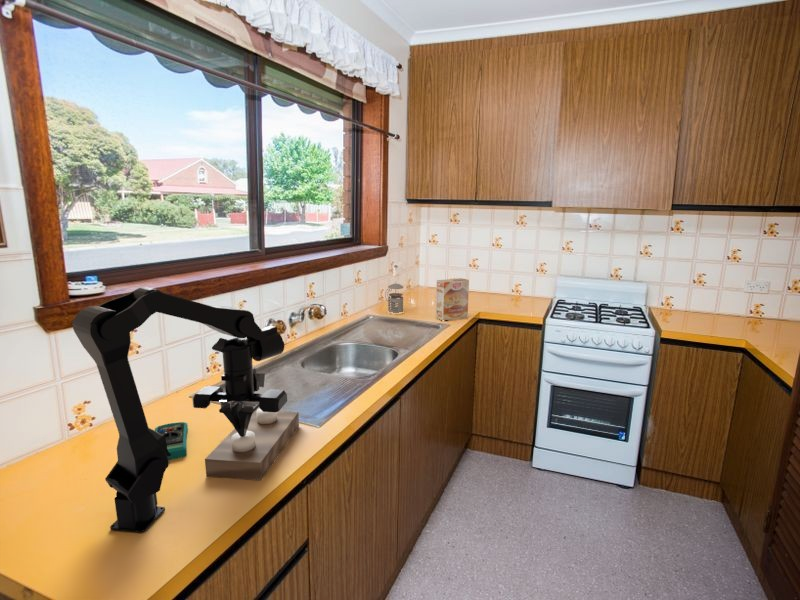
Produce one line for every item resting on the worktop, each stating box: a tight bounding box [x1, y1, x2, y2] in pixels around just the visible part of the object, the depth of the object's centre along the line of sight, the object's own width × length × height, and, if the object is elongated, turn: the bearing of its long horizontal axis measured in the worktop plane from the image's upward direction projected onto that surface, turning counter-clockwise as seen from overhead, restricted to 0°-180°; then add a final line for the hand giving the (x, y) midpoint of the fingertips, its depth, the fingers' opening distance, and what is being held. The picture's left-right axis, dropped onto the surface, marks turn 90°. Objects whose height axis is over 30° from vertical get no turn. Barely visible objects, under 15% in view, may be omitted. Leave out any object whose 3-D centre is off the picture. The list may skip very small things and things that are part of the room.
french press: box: [384, 264, 404, 313], centre depth 244 cm, size 10×12×25 cm
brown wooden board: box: [204, 410, 300, 481], centre depth 109 cm, size 24×12×4 cm, turn 173°
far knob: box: [256, 407, 277, 424], centre depth 115 cm, size 5×5×7 cm
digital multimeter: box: [154, 421, 189, 461], centre depth 111 cm, size 7×15×3 cm, turn 23°
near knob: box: [232, 431, 255, 452], centre depth 102 cm, size 5×5×7 cm
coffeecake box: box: [435, 277, 470, 322], centre depth 231 cm, size 15×7×20 cm, turn 119°
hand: (243, 435), depth 102 cm, fingers closed
